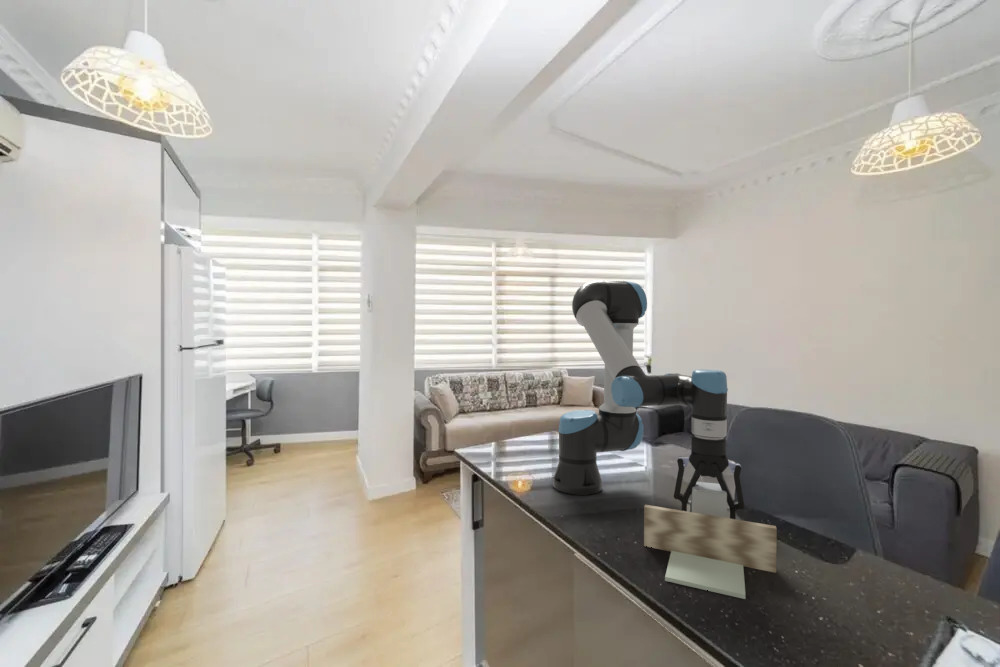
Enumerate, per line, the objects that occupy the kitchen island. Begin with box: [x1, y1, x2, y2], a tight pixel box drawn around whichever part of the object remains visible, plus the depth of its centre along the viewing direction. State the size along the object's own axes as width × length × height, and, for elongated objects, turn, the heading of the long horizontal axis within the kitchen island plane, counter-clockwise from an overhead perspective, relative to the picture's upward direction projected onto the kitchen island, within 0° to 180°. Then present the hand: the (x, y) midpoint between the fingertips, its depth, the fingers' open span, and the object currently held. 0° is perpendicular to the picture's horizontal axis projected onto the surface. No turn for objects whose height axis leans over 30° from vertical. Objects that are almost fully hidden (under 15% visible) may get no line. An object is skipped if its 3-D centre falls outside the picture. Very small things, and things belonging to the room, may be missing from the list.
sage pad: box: [664, 551, 746, 600], centre depth 93 cm, size 14×12×1 cm
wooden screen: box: [643, 504, 778, 573], centre depth 100 cm, size 26×2×9 cm, turn 64°
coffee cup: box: [700, 459, 736, 507], centre depth 121 cm, size 10×10×15 cm
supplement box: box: [690, 481, 727, 518], centre depth 109 cm, size 7×7×13 cm
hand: (707, 533), depth 109 cm, fingers closed on supplement box, 8 cm apart
